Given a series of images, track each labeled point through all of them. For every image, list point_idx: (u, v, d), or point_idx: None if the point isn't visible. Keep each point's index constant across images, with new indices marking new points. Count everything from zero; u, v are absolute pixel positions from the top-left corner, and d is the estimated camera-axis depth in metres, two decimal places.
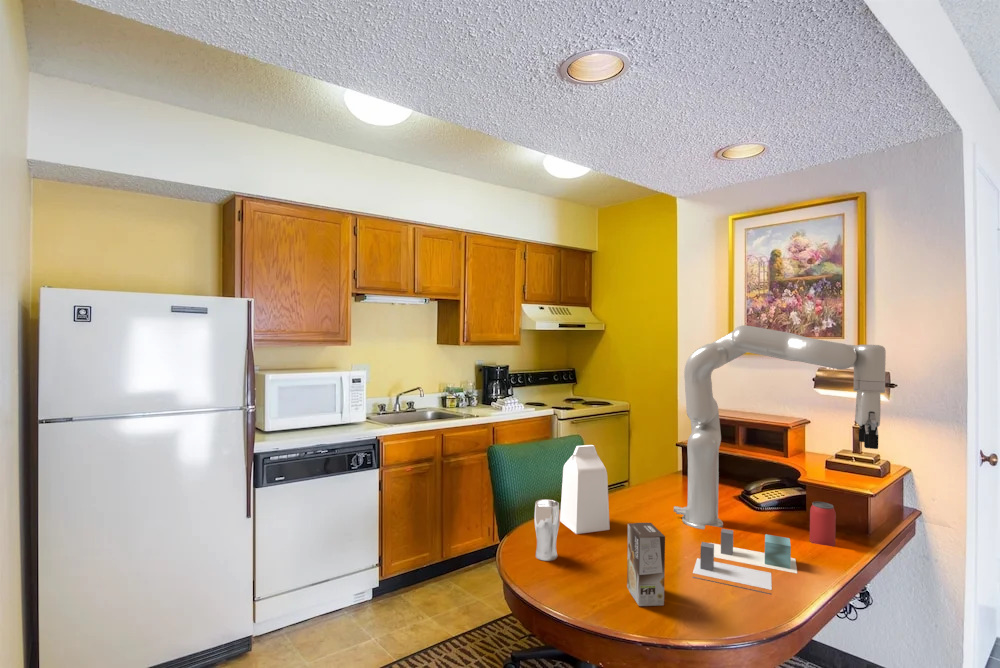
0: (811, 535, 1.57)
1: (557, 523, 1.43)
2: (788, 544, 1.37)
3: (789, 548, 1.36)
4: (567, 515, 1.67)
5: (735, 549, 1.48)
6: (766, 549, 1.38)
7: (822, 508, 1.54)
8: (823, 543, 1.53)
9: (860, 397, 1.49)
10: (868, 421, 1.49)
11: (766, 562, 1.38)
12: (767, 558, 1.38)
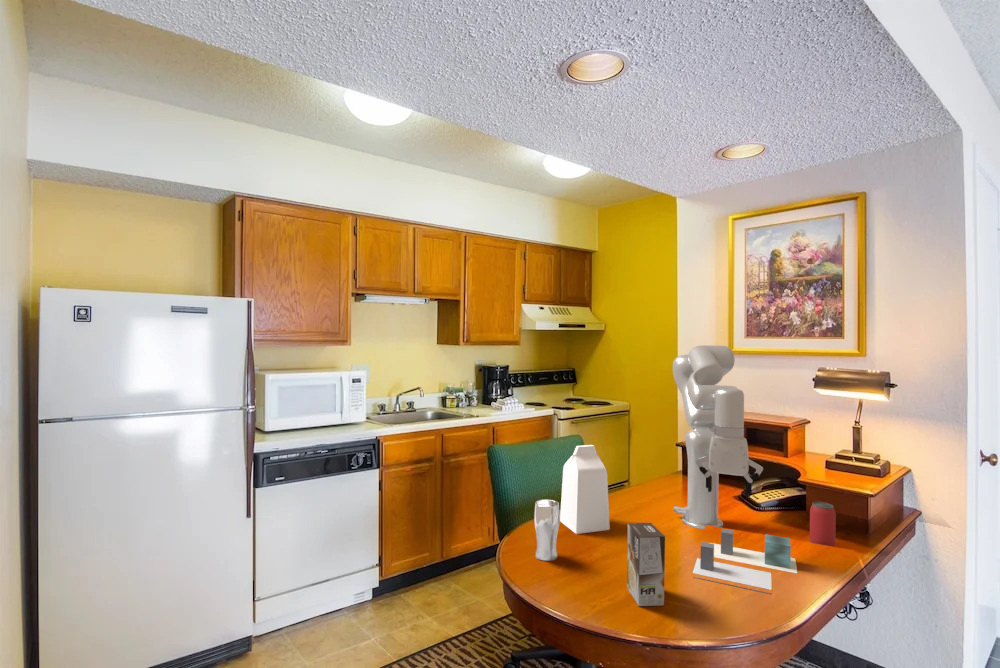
0: (811, 535, 1.57)
1: (557, 523, 1.43)
2: (788, 544, 1.37)
3: (789, 548, 1.36)
4: (567, 515, 1.67)
5: (735, 549, 1.48)
6: (766, 549, 1.38)
7: (822, 508, 1.54)
8: (823, 543, 1.53)
9: (742, 445, 1.41)
10: None
11: (766, 562, 1.38)
12: (767, 558, 1.38)
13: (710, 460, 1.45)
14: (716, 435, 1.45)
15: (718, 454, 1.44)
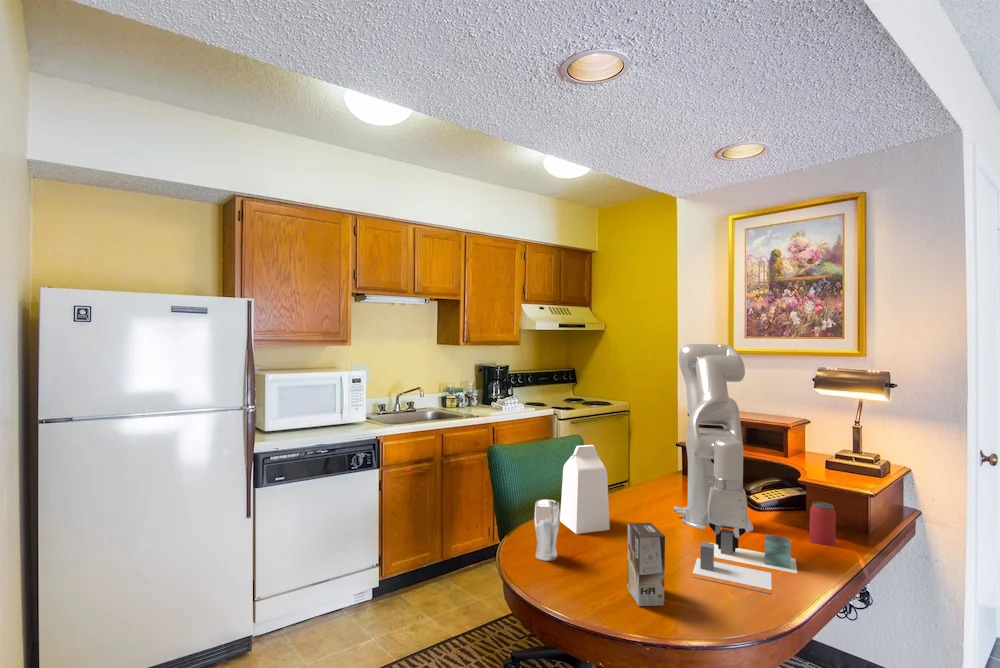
0: (811, 535, 1.57)
1: (557, 523, 1.43)
2: (788, 544, 1.37)
3: (789, 548, 1.36)
4: (567, 515, 1.67)
5: None
6: (766, 549, 1.38)
7: (822, 508, 1.54)
8: (823, 543, 1.53)
9: (740, 498, 1.42)
10: None
11: (766, 562, 1.38)
12: (767, 558, 1.38)
13: (709, 511, 1.45)
14: (715, 487, 1.45)
15: (717, 506, 1.44)
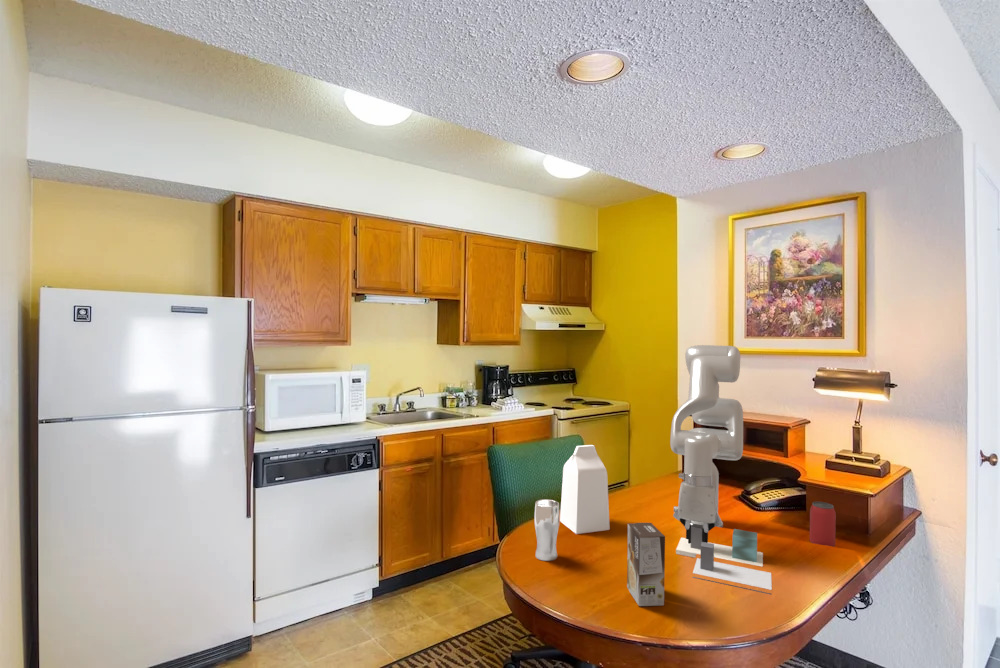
0: (811, 535, 1.57)
1: (557, 523, 1.43)
2: (755, 538, 1.41)
3: (755, 542, 1.40)
4: (567, 515, 1.67)
5: None
6: (733, 543, 1.42)
7: (822, 508, 1.54)
8: (823, 543, 1.53)
9: (709, 494, 1.45)
10: None
11: (733, 556, 1.42)
12: (734, 552, 1.42)
13: (679, 507, 1.49)
14: (685, 482, 1.49)
15: (687, 501, 1.48)
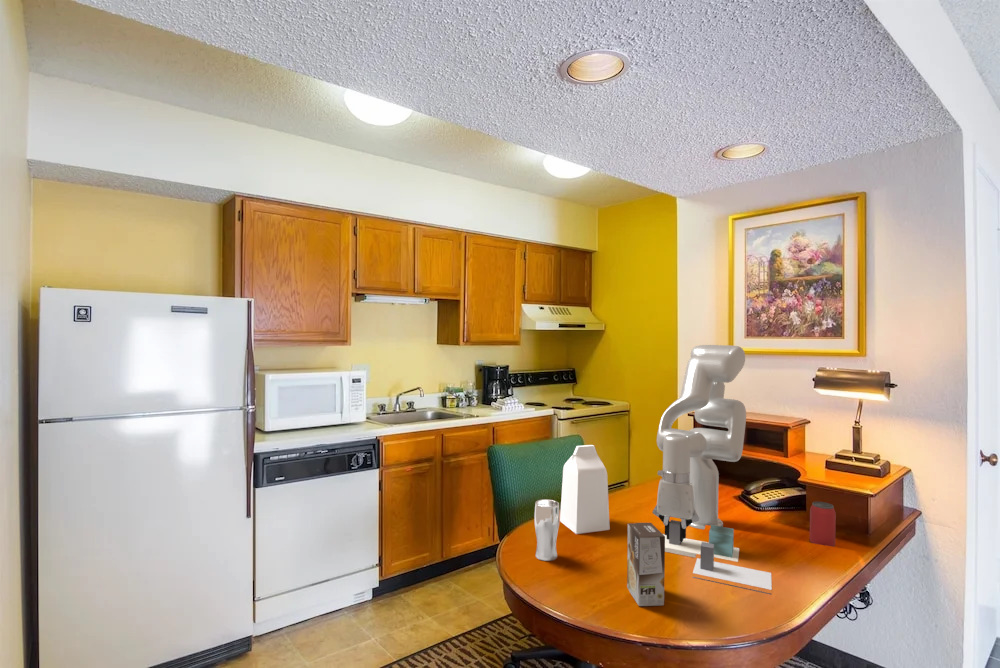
0: (811, 535, 1.57)
1: (557, 523, 1.43)
2: (731, 533, 1.44)
3: (731, 538, 1.42)
4: (567, 515, 1.67)
5: (684, 539, 1.54)
6: (710, 539, 1.45)
7: (822, 508, 1.54)
8: (823, 543, 1.53)
9: (687, 490, 1.48)
10: None
11: None
12: None
13: (658, 503, 1.52)
14: (664, 479, 1.51)
15: (665, 498, 1.51)
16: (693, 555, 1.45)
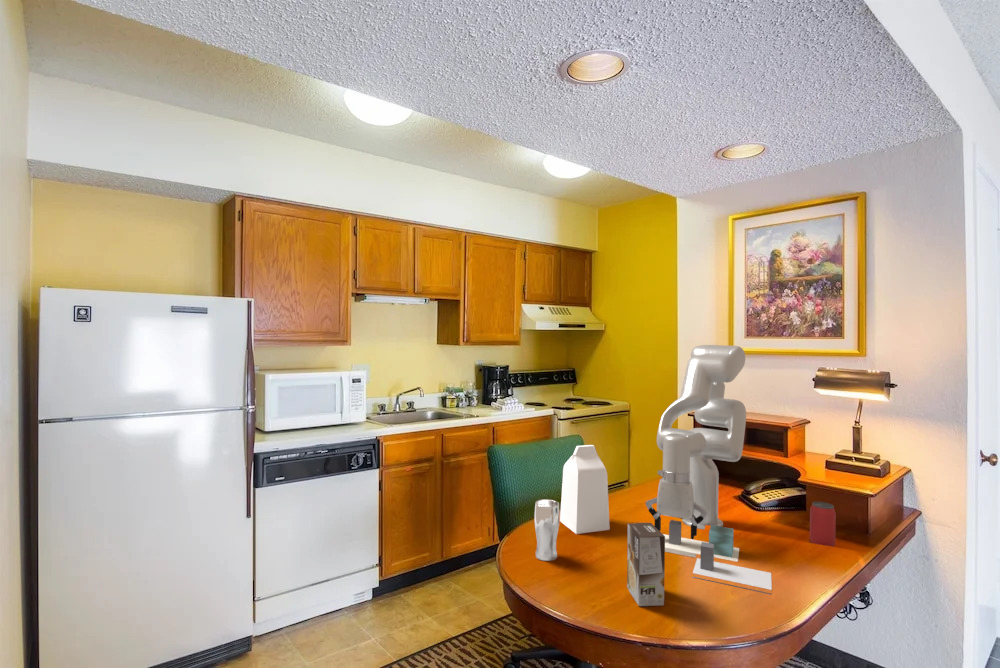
0: (811, 535, 1.57)
1: (557, 523, 1.43)
2: (730, 533, 1.44)
3: (731, 538, 1.42)
4: (567, 515, 1.67)
5: (684, 539, 1.54)
6: (710, 539, 1.45)
7: (822, 508, 1.54)
8: (823, 543, 1.53)
9: (687, 490, 1.48)
10: None
11: None
12: None
13: (658, 503, 1.52)
14: (664, 479, 1.51)
15: (665, 498, 1.51)
16: (693, 555, 1.45)
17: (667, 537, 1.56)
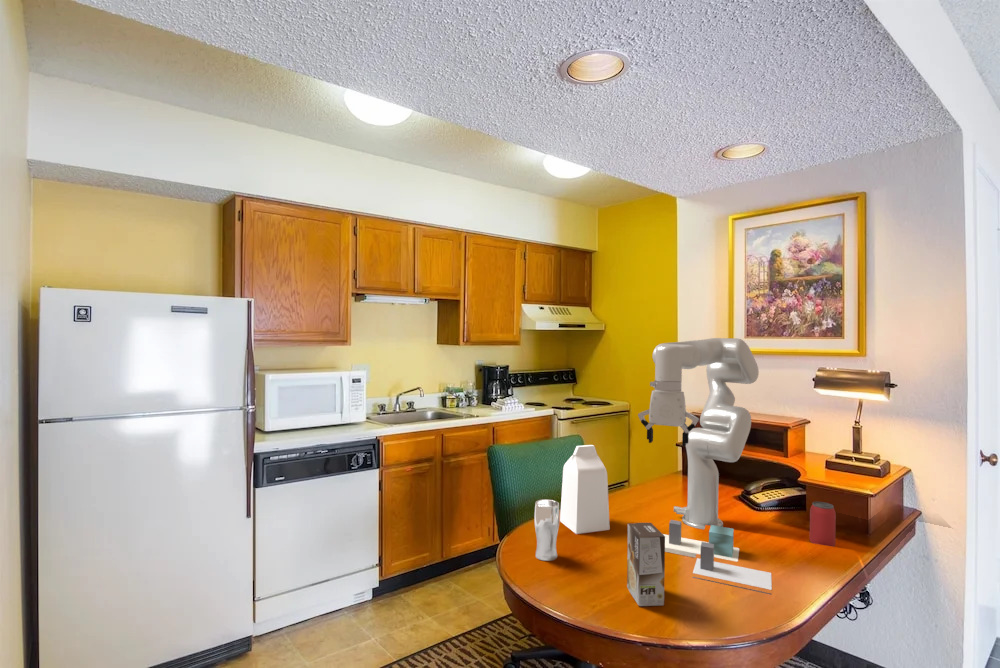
0: (811, 535, 1.57)
1: (557, 523, 1.43)
2: (730, 533, 1.44)
3: (731, 538, 1.42)
4: (567, 515, 1.67)
5: (684, 539, 1.54)
6: (710, 539, 1.45)
7: (822, 508, 1.54)
8: (823, 543, 1.53)
9: (678, 398, 1.50)
10: None
11: None
12: None
13: (650, 413, 1.54)
14: (656, 389, 1.54)
15: (657, 407, 1.53)
16: (693, 555, 1.45)
17: (667, 537, 1.56)
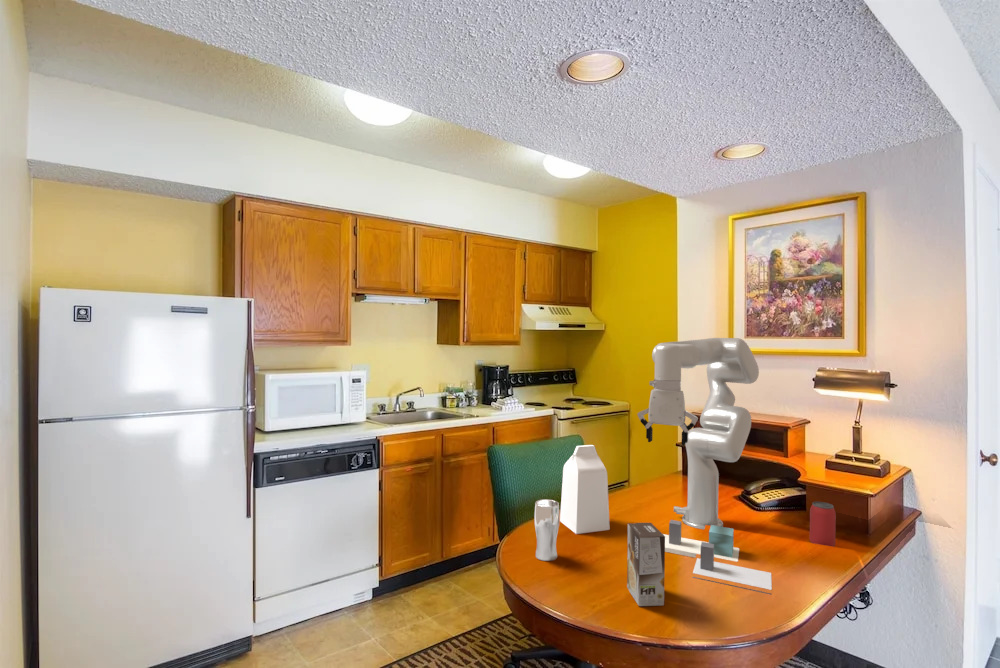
0: (811, 535, 1.57)
1: (557, 523, 1.43)
2: (730, 533, 1.44)
3: (731, 538, 1.42)
4: (567, 515, 1.67)
5: (684, 539, 1.54)
6: (710, 539, 1.45)
7: (822, 508, 1.54)
8: (823, 543, 1.53)
9: (678, 397, 1.50)
10: None
11: None
12: None
13: (649, 412, 1.54)
14: (655, 388, 1.54)
15: (657, 406, 1.53)
16: (693, 555, 1.45)
17: (667, 537, 1.56)
